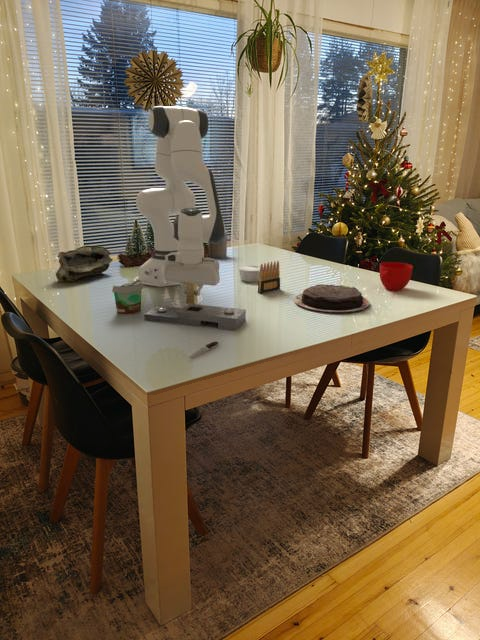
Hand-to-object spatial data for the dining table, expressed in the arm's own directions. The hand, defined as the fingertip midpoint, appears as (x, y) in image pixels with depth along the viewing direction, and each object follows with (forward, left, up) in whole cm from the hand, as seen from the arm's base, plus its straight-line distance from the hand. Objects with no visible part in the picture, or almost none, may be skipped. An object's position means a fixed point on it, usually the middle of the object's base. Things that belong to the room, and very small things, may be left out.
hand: (191, 294), depth 177 cm
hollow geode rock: (-61, +26, -5) cm, 66 cm away
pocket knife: (+20, -38, -5) cm, 43 cm away
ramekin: (+9, +47, -5) cm, 48 cm away
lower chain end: (+1, -13, -5) cm, 14 cm away
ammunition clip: (+21, +31, -5) cm, 37 cm away
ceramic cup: (+68, +50, -5) cm, 84 cm away
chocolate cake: (+47, +23, -5) cm, 52 cm away
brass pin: (0, 0, -3) cm, 3 cm away
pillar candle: (-22, +89, -5) cm, 92 cm away
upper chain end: (+13, -13, -5) cm, 19 cm away
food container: (-17, -11, -5) cm, 21 cm away
